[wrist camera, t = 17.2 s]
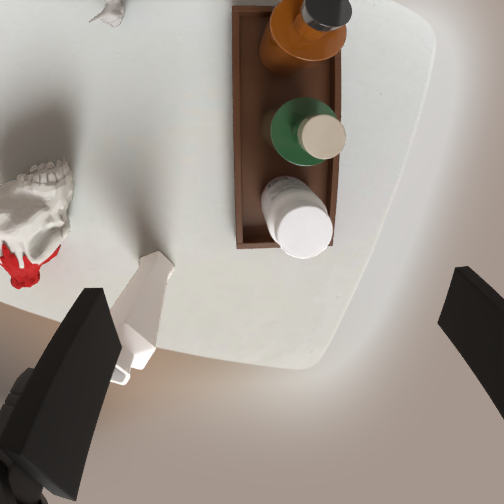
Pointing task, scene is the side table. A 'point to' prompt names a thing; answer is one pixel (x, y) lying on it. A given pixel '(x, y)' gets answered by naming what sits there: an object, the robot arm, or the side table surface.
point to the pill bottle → (296, 217)
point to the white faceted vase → (140, 314)
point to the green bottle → (303, 131)
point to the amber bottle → (303, 34)
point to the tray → (249, 135)
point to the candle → (34, 220)
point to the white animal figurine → (111, 13)
